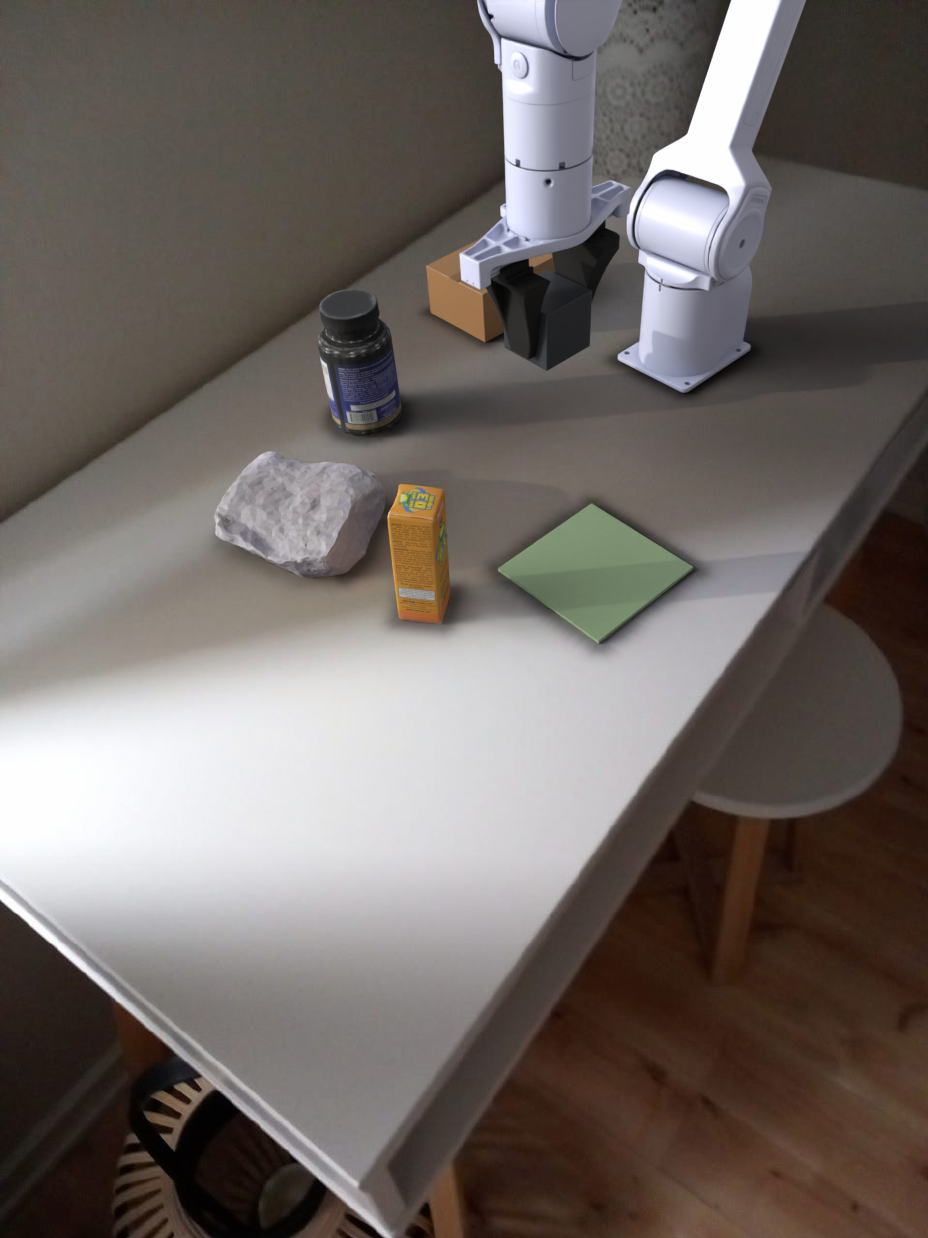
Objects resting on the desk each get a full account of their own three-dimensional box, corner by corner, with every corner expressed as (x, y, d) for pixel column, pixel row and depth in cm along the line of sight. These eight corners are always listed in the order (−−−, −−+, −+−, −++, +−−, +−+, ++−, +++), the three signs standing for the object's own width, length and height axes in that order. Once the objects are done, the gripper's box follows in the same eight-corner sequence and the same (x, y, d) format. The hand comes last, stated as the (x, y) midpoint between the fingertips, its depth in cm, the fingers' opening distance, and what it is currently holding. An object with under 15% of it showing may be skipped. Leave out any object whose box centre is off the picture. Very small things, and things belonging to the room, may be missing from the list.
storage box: (504, 273, 100) (502, 226, 97) (559, 301, 96) (560, 252, 92) (430, 312, 96) (425, 265, 92) (484, 343, 92) (482, 294, 88)
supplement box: (445, 626, 68) (433, 520, 61) (398, 621, 69) (380, 515, 61) (455, 592, 70) (445, 485, 63) (409, 587, 71) (393, 481, 64)
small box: (547, 323, 76) (547, 268, 72) (590, 346, 73) (592, 289, 70) (504, 347, 74) (502, 292, 70) (546, 371, 71) (546, 315, 68)
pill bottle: (416, 408, 86) (402, 293, 77) (375, 446, 82) (356, 331, 74) (360, 389, 88) (341, 276, 80) (318, 426, 85) (294, 312, 77)
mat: (591, 505, 76) (591, 503, 75) (693, 569, 70) (693, 566, 70) (497, 571, 71) (497, 568, 71) (598, 644, 66) (598, 641, 66)
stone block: (351, 602, 73) (396, 498, 77) (333, 565, 69) (382, 458, 73) (214, 575, 76) (265, 477, 81) (190, 538, 72) (245, 437, 77)
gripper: (582, 103, 68) (577, 283, 78) (423, 172, 62) (440, 357, 72) (659, 129, 64) (643, 315, 74) (498, 205, 58) (505, 396, 68)
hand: (548, 338), depth 73 cm, fingers closed on small box, 4 cm apart
